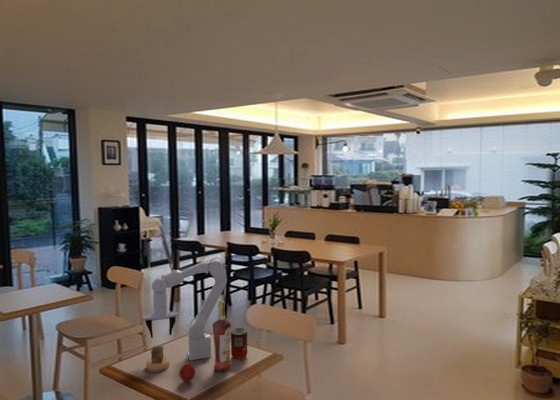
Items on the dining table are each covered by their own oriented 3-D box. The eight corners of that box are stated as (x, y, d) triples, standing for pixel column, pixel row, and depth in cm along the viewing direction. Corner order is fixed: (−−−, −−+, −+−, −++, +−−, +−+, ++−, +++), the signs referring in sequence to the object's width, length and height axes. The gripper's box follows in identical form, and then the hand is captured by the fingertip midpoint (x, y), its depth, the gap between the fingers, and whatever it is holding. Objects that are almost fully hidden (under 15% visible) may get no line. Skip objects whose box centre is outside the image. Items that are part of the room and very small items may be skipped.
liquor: (223, 375, 162) (222, 306, 160) (209, 370, 165) (208, 303, 164) (235, 367, 168) (234, 300, 166) (221, 363, 172) (220, 298, 170)
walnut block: (163, 358, 171) (163, 345, 170) (161, 363, 167) (161, 350, 166) (153, 359, 170) (153, 346, 170) (151, 363, 166) (151, 350, 166)
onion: (181, 378, 159) (180, 358, 159) (195, 377, 160) (195, 358, 159) (178, 386, 153) (178, 365, 153) (194, 385, 154) (193, 364, 153)
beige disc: (168, 360, 175) (168, 354, 174) (169, 370, 166) (169, 364, 166) (146, 363, 172) (146, 358, 171) (146, 373, 163) (146, 367, 163)
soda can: (248, 359, 174) (248, 332, 174) (232, 361, 173) (231, 333, 172) (246, 353, 181) (245, 326, 181) (230, 354, 180) (229, 327, 179)
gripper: (176, 300, 182) (177, 330, 182) (142, 304, 177) (143, 334, 178) (178, 305, 175) (178, 336, 176) (142, 309, 170) (143, 340, 171)
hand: (161, 335), depth 176 cm, fingers open, 7 cm apart
